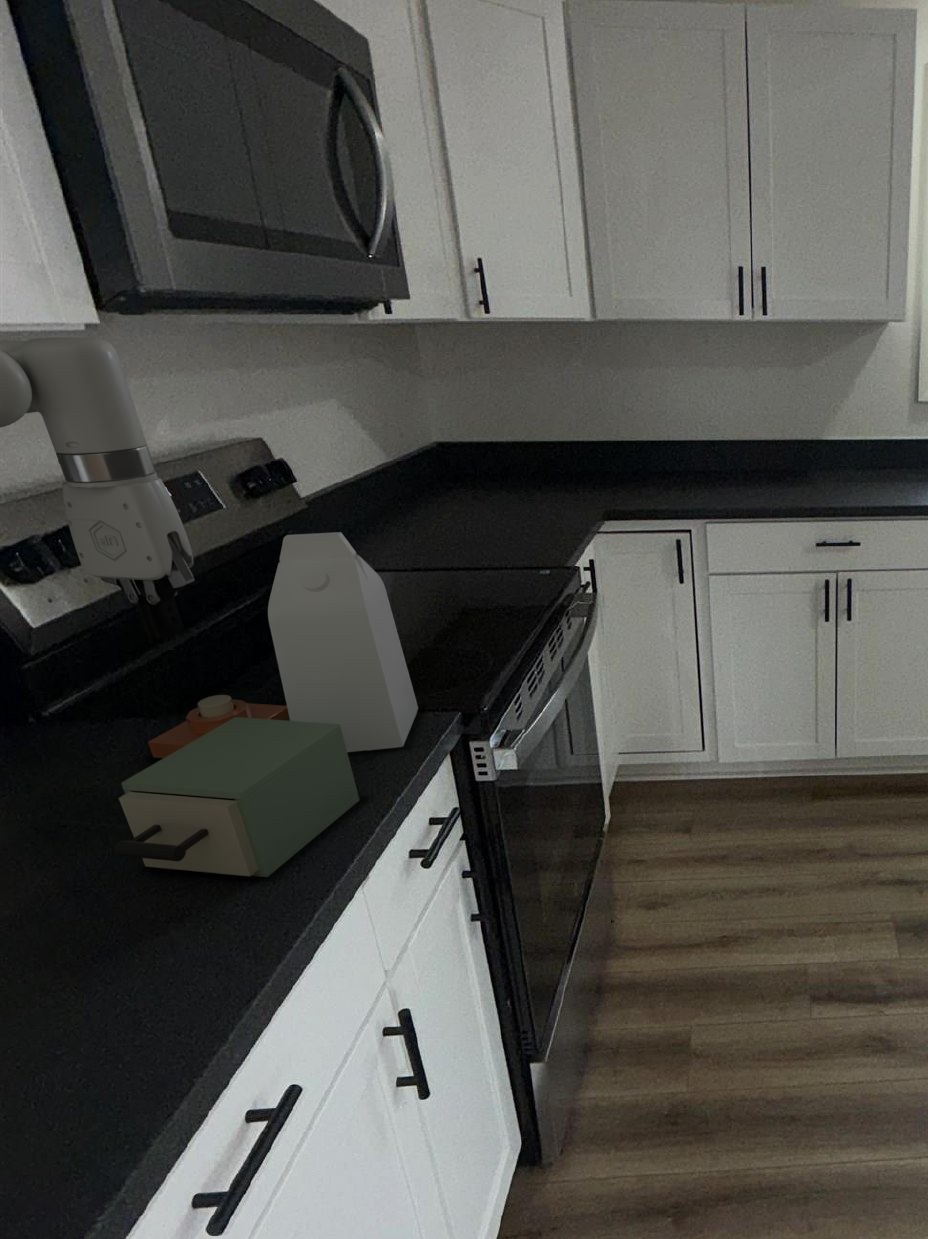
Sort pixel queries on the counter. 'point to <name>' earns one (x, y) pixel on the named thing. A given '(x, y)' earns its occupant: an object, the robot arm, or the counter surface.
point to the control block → (211, 725)
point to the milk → (339, 643)
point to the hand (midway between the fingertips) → (166, 634)
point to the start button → (215, 706)
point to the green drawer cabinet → (264, 780)
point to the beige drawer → (187, 833)
